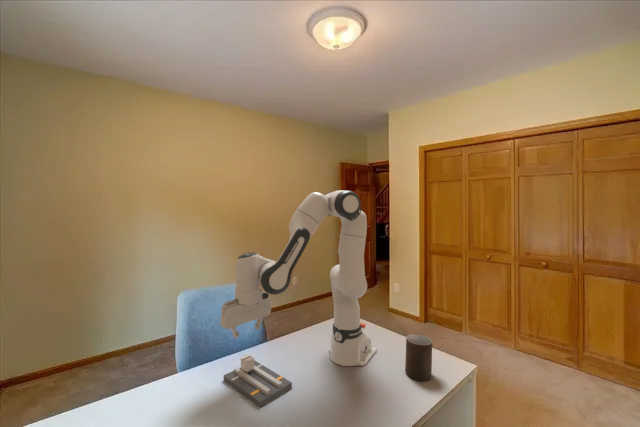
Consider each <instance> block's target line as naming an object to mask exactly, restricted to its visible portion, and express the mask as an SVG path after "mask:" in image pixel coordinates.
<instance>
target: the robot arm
mask: <svg viewBox="0 0 640 427" xmlns="http://www.w3.org/2000/svg"><path fill="white" fill-rule="evenodd" d="M366 214H367V213H366V212H364V211H363V210H362V205H361V200H360V197H359V195H358V194H356V193H355V192H354V191H352V190H348V189H347V190H346V189H344V190H343V189H342V190H341V189H339V190H335V191H329V192H327V193H325V194H323V193H321V192H318V191H313V192H311V193H310V194H309V195H307V196H306V197H305V199H304V200H303V201H302V202H301V203H300V204H299V206H298V207H297V208H296V210H295V212H293V215H292V216H291V219H290V221H289V223H288V229H289V239H288V242H287V244H286V246H285V247H284V249H283V251H282V252H281V254H280V256H279V258H278V259H277V261H275V260H273V259H269V258H266V257H264V256H261V255H260V254H259V253H257V252H247V253H243V254H241V255H239V256H238V257H237V260H236V263H235V271H234V272H235V274H234V275H235V277H234V279H235V287H234V299H232V300H228V301H226V302H224V304H223V305H222V306H221V315H220V323H219V324H220V326H221V327H222V328H223V329H225V330H229V329H230V331H231V332H232V337H233V338H235V339H236V338H238V337H240V332H239V331H237V330H236V329H237V326H240V325H244V324H247V323H250V322H252V321H255V320H256V323H255V324H254V328H253V329H254V330H256V331H258V330H260V329H261V324H262V322H263V318H264V317H268V316H270V314H271V312H272V302H271V299H270V298H271V295H280V294H282V293H283V292H286V290H287V289H288V287H289V286H290V283H291V278H292V274H293V271H294V268H295V267H296V266H297V264H298V261H299V260H300V258H301V257H302V254H303V253H304V251H305V249H306V247H307V246H308V243H309V242H310V241H311V239H312V236H314V234H315V232H316V231H317V230H318V228H319V226H320V225H321V223H322V221H323V220H324V219H325V217H327V216H331V217H334V218H335V217H336V218H339V219H340V223H341V226H340V231H339V232H340V234H339V242H338V248H337V249H338V250H337V254H338V261H339V263H338V264H335V265H334V266H332V268H331V269H330V272H329V278H330V284H331V295H332V301H333V324H332V334H331V338H330V339H331V340H330V347H328V352H329V359H330V360H331V362H333V363H334V364H337V365H338V366H342V367H354V366H361V367H364V366H367V364H368V363H369V361H370V360H372V357H373V356H374V355H375V354H376V352H377V348H376V347H375V346H374V345H372V341H371V338H370V336H369V335H368V334H366V333H365V332H363V329H365V328H366V324H365V323H362V322H361V321H360V320H361V319H360V318H361V307H360V304H359V300H358V299H360V298H362V297H363V296H364V295H365V294H366V292H367V290H368V283H367V282H368V281H367V278H366V272H365V271H366V270H365V251H366V250H365V247H366V240H367V231H368V220H367V215H366ZM260 286H261V287H262V289H260Z"/></svg>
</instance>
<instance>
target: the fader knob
mask: <svg viewBox="0 0 640 427" xmlns="http://www.w3.org/2000/svg"><path fill="white" fill-rule="evenodd" d="M254 361H255V357H253V356H252V355H250V354H247V355H243V356H241V357H240V367H241V369H243V370H244V372H245V373H247V374H248V373H250V372H251V370H252V369H254Z"/></svg>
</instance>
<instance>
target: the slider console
mask: <svg viewBox="0 0 640 427" xmlns="http://www.w3.org/2000/svg"><path fill="white" fill-rule="evenodd" d="M223 382H225V383H226V384H227V385H229V386H230V387H231V388H233V389H234V390H235V391H236V392H238V393H239V394H240V395H242V396H243V397H245V398H246V399H247V400H249V402H251V403H252V404H253V405H255V406H256V407H258V408H259V409H261V408H262V407H264V406H266V405H267V404H269V403H270V402H272V401H273V400H275V399H277V398H278V397H281V395H283V394H285V393H286V392H288V391H289V390H291V389H292V388H293V382H292V381H291V380H288V379H287V378H285V377H284V376H282V375H280V374H278V373H276V372H275V371H273V370H272V369H270V368H268V367H266V366H265V365H263V364H262V363H260V362H258V361H256V360H254V369H252V370H251V372H250V373H248V374H247V373H245V372H244V370H243V369H241V366H240V367H235V368H233V370H232V371H230V372H227V373H225V374H224V375H223Z"/></svg>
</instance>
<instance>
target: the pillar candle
mask: <svg viewBox="0 0 640 427" xmlns="http://www.w3.org/2000/svg"><path fill="white" fill-rule="evenodd" d="M432 365H433V340H432V339H431V337H428V336H425V335H423V334H418V333H417V334H414V333H413V334H408V335H406V338H405V369H404V372H405V374H406V376H407V377H408V378H410V379H412V380H414V381H417V382H427V381H430V380H431V379H432V372H433V371H432Z"/></svg>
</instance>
